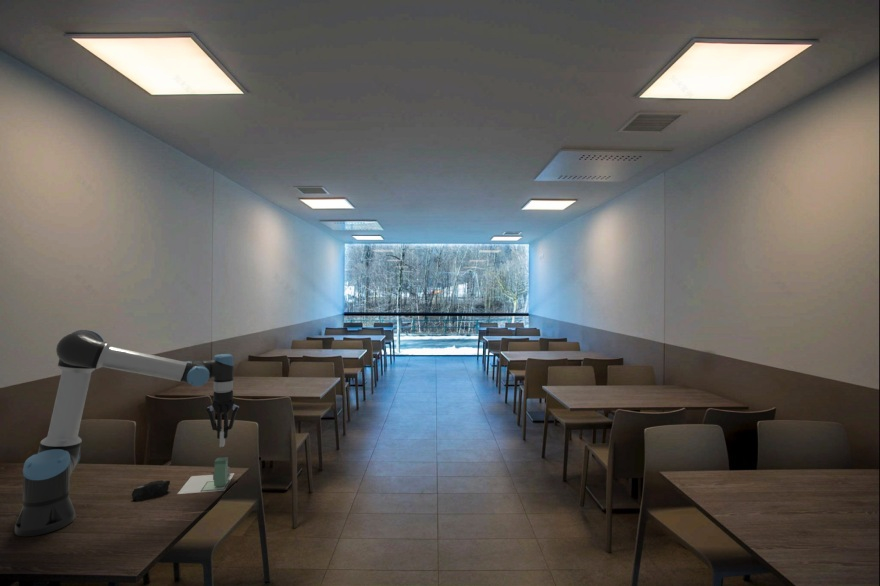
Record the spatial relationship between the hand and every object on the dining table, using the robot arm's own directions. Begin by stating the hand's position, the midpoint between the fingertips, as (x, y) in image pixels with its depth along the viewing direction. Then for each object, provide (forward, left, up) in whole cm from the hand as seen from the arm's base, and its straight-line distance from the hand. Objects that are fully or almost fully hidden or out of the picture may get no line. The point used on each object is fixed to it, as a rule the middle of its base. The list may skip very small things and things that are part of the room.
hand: (222, 445), depth 186 cm
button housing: (0, 0, -14) cm, 14 cm away
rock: (-12, +22, -14) cm, 29 cm away
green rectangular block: (-10, -2, -13) cm, 16 cm away
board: (-6, +4, -14) cm, 15 cm away
